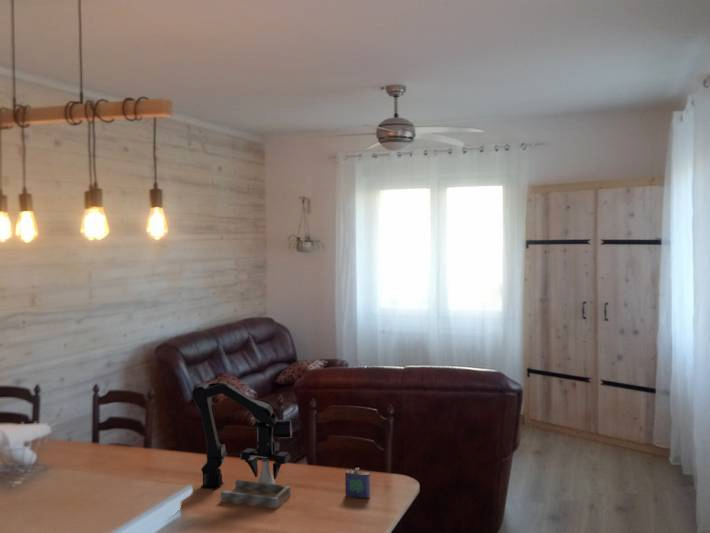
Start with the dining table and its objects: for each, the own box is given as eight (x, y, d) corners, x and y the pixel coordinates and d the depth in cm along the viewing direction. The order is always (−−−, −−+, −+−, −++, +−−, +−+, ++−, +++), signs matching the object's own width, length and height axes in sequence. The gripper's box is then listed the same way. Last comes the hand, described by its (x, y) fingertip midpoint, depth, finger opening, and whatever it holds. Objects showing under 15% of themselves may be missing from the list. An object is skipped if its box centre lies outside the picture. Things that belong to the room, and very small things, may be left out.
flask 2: (370, 496, 232) (370, 467, 231) (368, 499, 229) (368, 470, 229) (346, 494, 235) (346, 465, 234) (344, 497, 232) (343, 468, 231)
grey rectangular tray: (221, 501, 229) (221, 492, 229) (237, 489, 241) (237, 479, 241) (276, 508, 222) (276, 499, 222) (290, 495, 234) (290, 486, 234)
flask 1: (271, 490, 239) (271, 464, 239) (253, 488, 241) (253, 463, 240) (278, 482, 246) (277, 457, 246) (260, 481, 248) (259, 456, 247)
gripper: (295, 433, 247) (296, 473, 248) (252, 429, 253) (253, 468, 254) (283, 442, 237) (284, 483, 238) (239, 438, 243) (240, 478, 243)
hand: (265, 477), depth 243 cm, fingers open, 8 cm apart
